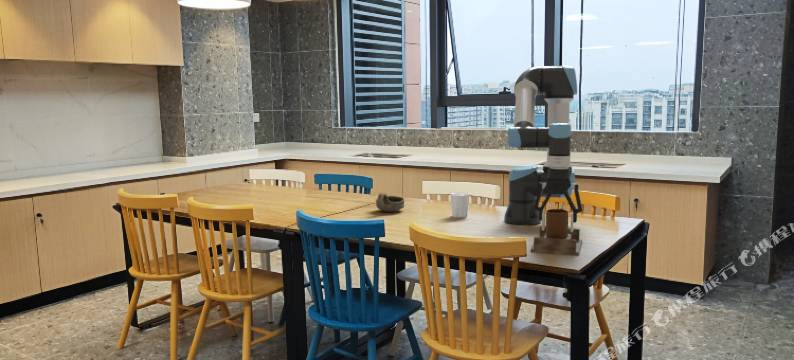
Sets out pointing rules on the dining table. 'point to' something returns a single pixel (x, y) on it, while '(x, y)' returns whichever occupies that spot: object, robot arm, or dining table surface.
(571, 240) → the peg stand
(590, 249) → the dining table surface
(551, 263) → the dining table surface
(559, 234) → the mug
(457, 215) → the white cup
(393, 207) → the bowl
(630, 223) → the dining table surface
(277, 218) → the dining table surface
